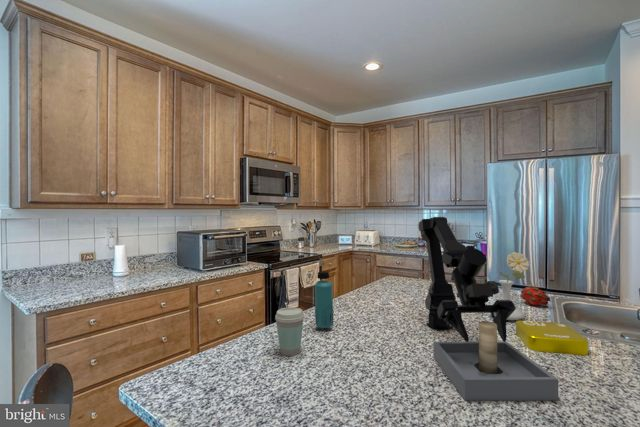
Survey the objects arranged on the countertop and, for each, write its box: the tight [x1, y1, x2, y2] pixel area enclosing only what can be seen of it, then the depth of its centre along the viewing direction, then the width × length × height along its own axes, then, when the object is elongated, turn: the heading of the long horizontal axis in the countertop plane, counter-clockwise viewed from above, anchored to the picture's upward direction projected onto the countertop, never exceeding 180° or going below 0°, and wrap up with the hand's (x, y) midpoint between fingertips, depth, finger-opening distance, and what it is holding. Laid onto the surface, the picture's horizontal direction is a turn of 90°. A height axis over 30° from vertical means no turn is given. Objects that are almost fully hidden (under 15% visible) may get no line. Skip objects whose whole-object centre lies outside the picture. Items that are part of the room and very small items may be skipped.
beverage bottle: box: [314, 270, 334, 329], centre depth 113 cm, size 6×7×20 cm
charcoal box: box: [433, 341, 559, 401], centre depth 80 cm, size 20×20×4 cm
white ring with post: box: [375, 294, 395, 308], centre depth 142 cm, size 9×8×4 cm
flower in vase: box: [498, 251, 530, 321], centre depth 122 cm, size 13×11×25 cm
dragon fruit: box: [519, 285, 552, 308], centre depth 137 cm, size 8×8×12 cm
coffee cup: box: [274, 306, 305, 357], centre depth 95 cm, size 8×8×12 cm
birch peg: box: [478, 320, 498, 374], centre depth 80 cm, size 4×4×13 cm
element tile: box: [515, 319, 589, 356], centre depth 99 cm, size 15×15×5 cm
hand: (486, 341), depth 81 cm, fingers open, 9 cm apart
